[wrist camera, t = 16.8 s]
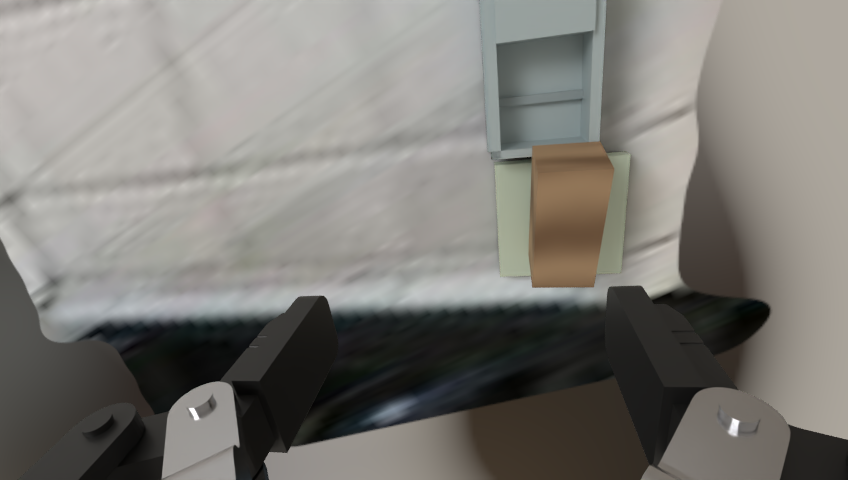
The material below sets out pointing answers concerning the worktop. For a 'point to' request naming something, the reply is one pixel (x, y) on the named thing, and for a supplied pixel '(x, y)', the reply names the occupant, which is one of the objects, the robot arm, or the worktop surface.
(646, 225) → the worktop surface
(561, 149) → the walnut bar
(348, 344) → the worktop surface
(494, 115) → the pale blue tray
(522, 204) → the plate
